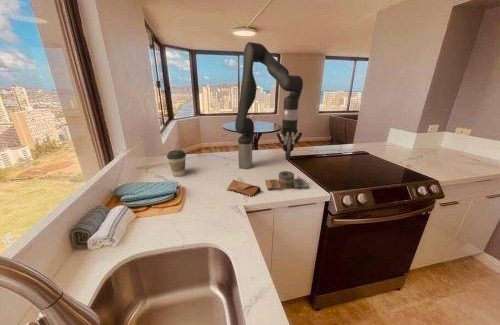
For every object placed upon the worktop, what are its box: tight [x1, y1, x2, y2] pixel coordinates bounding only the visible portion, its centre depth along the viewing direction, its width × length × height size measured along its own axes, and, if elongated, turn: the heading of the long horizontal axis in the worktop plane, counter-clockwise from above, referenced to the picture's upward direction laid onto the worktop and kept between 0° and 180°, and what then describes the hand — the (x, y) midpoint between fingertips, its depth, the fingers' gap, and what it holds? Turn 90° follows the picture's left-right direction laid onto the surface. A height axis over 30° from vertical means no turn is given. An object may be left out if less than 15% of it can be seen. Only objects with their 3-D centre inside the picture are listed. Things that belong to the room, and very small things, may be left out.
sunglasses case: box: [226, 179, 262, 198], centre depth 114 cm, size 18×7×7 cm, turn 61°
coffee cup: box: [166, 149, 187, 178], centre depth 132 cm, size 11×11×15 cm
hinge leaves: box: [264, 170, 309, 191], centre depth 119 cm, size 22×10×7 cm, turn 95°
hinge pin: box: [284, 135, 292, 158], centre depth 111 cm, size 3×3×12 cm
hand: (288, 150), depth 112 cm, fingers closed on hinge pin, 2 cm apart
